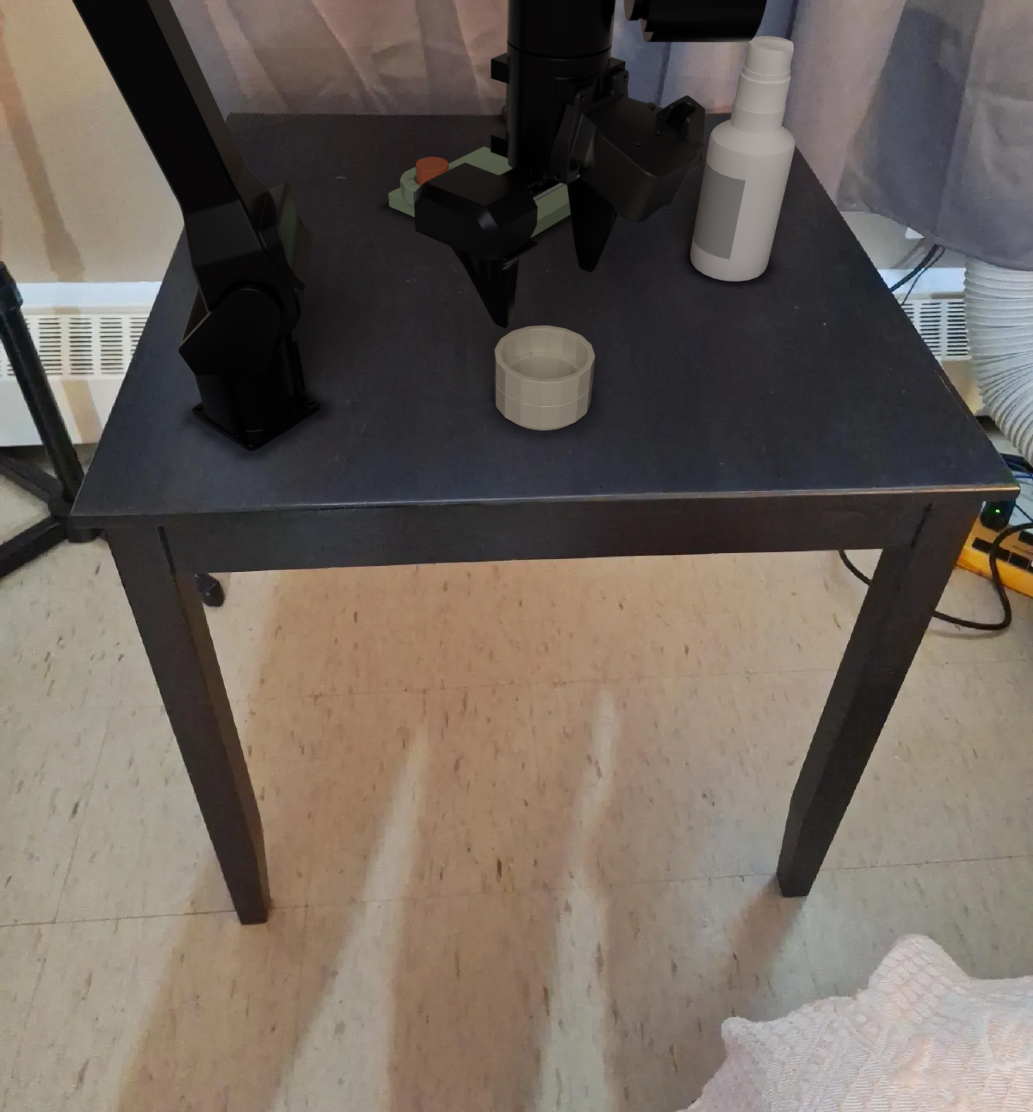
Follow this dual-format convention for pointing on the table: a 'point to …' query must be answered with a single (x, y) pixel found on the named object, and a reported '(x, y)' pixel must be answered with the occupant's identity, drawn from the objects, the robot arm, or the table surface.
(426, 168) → the button
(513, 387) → the bowl
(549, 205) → the scale
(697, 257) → the white bottle
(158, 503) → the table surface
